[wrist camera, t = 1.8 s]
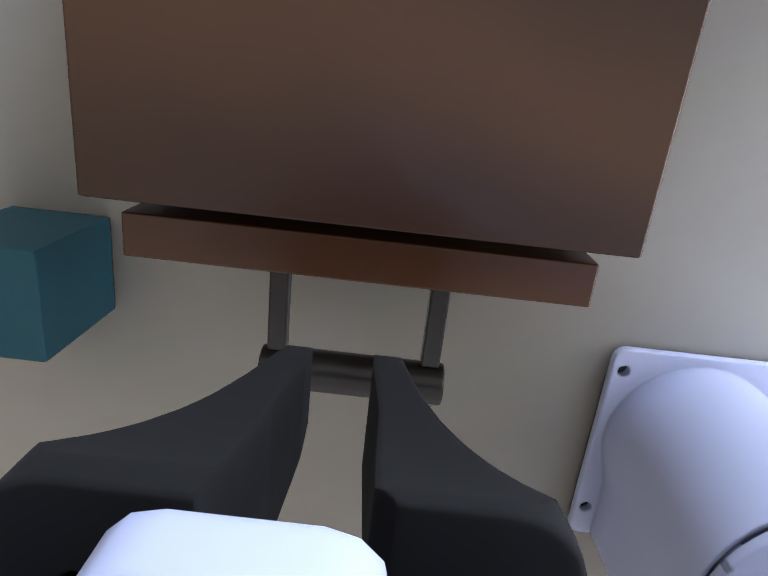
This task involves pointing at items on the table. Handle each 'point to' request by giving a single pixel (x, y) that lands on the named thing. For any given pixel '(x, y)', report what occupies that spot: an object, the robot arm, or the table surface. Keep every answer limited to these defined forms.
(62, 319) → the box
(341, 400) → the table surface
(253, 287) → the table surface
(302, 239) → the drawer
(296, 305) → the table surface
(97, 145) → the cabinet
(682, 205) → the table surface
